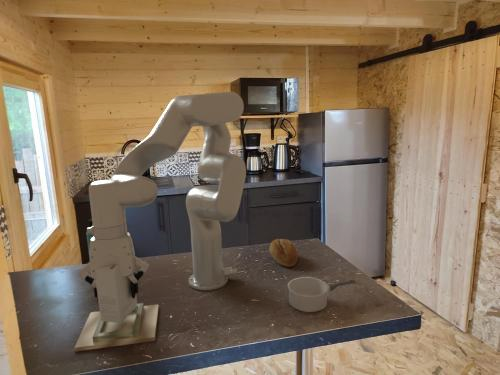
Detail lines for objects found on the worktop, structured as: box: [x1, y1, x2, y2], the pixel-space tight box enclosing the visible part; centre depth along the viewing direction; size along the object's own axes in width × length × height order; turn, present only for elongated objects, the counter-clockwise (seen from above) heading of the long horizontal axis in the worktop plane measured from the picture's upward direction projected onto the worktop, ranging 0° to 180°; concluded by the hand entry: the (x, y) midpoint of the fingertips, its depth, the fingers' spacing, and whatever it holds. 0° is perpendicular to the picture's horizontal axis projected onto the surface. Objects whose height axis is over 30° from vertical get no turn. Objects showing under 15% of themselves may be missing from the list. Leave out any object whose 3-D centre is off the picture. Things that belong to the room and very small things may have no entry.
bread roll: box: [268, 238, 299, 268], centre depth 126 cm, size 10×15×8 cm, turn 16°
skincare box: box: [94, 265, 138, 323], centre depth 86 cm, size 8×6×15 cm
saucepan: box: [287, 276, 356, 313], centre depth 98 cm, size 12×20×6 cm, turn 102°
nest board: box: [73, 302, 160, 352], centre depth 88 cm, size 18×15×2 cm
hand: (117, 297), depth 87 cm, fingers closed on skincare box, 7 cm apart
